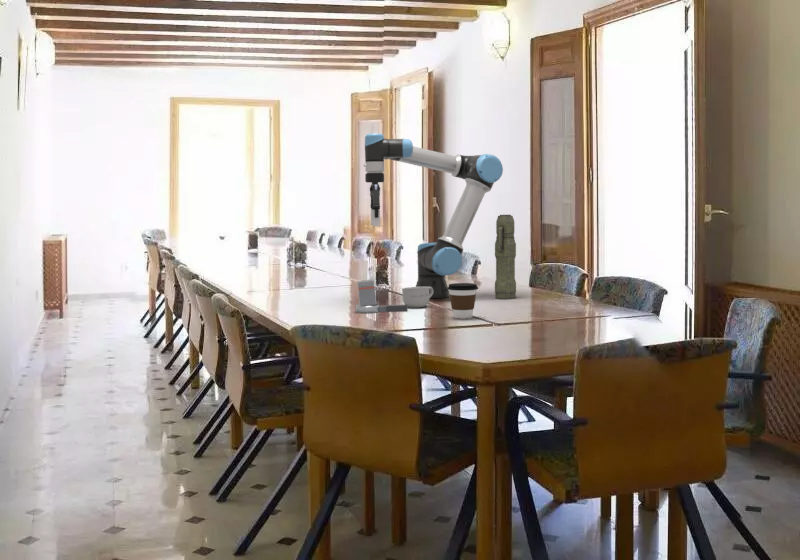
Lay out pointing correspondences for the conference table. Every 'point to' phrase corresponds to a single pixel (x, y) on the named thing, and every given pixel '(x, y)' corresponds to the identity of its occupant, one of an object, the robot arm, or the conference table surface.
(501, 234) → the thermos
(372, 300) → the red-striped grey block
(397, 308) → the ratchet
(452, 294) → the coffee cup
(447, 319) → the conference table surface
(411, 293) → the teacup
